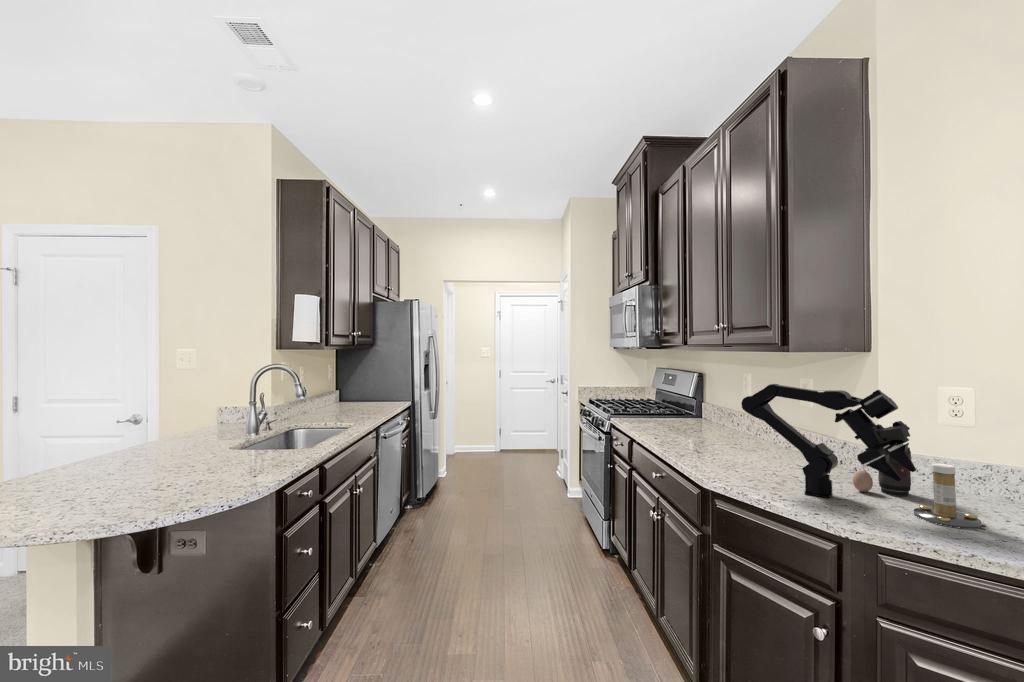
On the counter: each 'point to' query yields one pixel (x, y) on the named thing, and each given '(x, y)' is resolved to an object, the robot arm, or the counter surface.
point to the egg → (862, 481)
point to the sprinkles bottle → (944, 490)
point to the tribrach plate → (960, 521)
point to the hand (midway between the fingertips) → (907, 475)
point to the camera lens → (893, 485)
